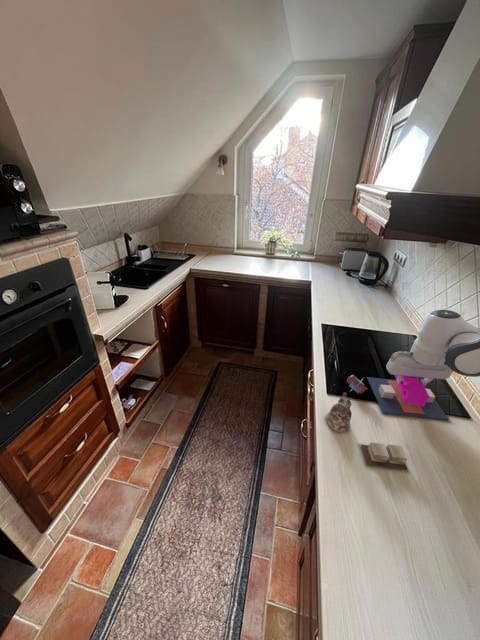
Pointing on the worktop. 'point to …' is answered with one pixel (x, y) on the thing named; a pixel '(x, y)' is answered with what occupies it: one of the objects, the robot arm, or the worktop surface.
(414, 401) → the toy block
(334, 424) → the figurine
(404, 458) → the word strip left
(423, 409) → the blue orange board
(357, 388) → the geometric puzzle
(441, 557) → the worktop surface
